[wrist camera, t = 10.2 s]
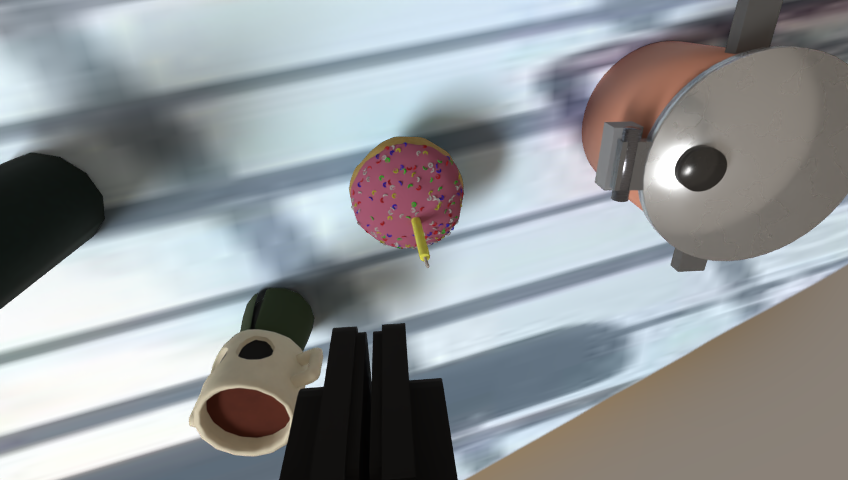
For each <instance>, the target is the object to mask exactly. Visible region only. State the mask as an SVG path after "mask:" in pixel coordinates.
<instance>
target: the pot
mask: <svg viewBox="0 0 848 480" xmlns="http://www.w3.org/2000/svg"><path fill="white" fill-rule="evenodd" d="M782 3H783V0H738V2H737V6H736V10H735V14H734V18H733V22H732V25H731V29H730V33H729V37H728V41H727V45H726V47H718V46H711V45H703V44H696V43H689V42H681V41H663V42H657V43H653V44H649V45H647V46H644V47H641V48H639V49H637V50H635V51H633V52H631V53H629V54H628V55H627V56H625V57H624V58H622V59H621V60H619V61H618V62H617V63H616V64H615V65H614V66H612V67H611V69H610V70H609V71H608V72H607V73H606V74H605V75H604V76H603V78H602V79H601V80H600V81H599V83H598V84H597V86H596V88H595V89H594V91H593V93H592V95H591V97H590V99H589V101H588V104H587V107H586V110H585V113H584V118H583V123H582V142H583V147H584V151H585V154H586V157H587V159H588V161H589V163H590V165H591V166H592V167H593V169H594V170H595V171H596V179H595V183H596V184H597V185H598V186H600V187H601V188H602V189H603V190H613V189H612V188H611V187H610V181H611V175H612V169H613V163H614V157H615V152H616V146H617V140H618V139H619V138H622V133H623V128H624V127H626V126H635V127H640V128H642V132H641V137H640V138H647V136H648V134H649V132H650V130H651V128H652V127H653V125H654V123H655V121H656V120H657V118H658V117H659V115H660V114H661V112H662V111H663V109H664V108H665V107H666V106H667V104H668V103H669V102H670V101H671V100H672V99H673V97H674V96H675V95H676V94H677V93H678V92H679V91H680V90H681V89H682V88H683V87H685V86H686V85H687V84H688V83H689V82H690V81H691V80H693V79H694V78H695V77H697V76H698V75H699V74H701V73H702V72H704V71H705V70H707V69H708V68H710V67H712V66H713V65H715V64H717V63H719V62H721V61H723V60H725V59H727V58H729V57H731V56H734V55H737V54H740V53H742V52H745V51H748V50H753V49H758V48H762V47H770V44H771V40H772V37H773V34H774V30H775V27H776V23H777V20H778V17H779V13H780V10H781V6H782ZM629 200H630V201H631V202H633V203H634V204H635V205H636V206H638V207H639V208H640V209H641V210H642V211H643V209H642V206H641V203H640V200H639V194H638V190H630V194H629ZM706 263H707V260H706V259H701V258H697V257H694V256H691V255H688V254H686V253H684V252H682V251H680V250H678V249H677V248H675V250H674V254H673V258H672V262H671V266H672V267H673V268H674V269H675V270H677V271H678V272H683V271H703V270H704V269H705V266H706Z"/></svg>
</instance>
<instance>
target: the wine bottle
mask: <svg viewBox="0 0 848 480" xmlns="http://www.w3.org/2000/svg"><path fill="white" fill-rule="evenodd" d="M104 219H105V216H104V206H103V197H102V195H101V193H100V192H99V190H98V189H97V188H96V186H95V185H94V183H93V182H92V181H91V179H90V178H89V176H88V175H87V174H86V173H85V172H83V171H82V170H80V169H79V168H77V167H75V166H74V165H72V164H70V163H69V162H67V161H66V160H64V159H62V158H61V157H56V156H50V155H43V154H37V153H28V154H26V155H23V156H21V157H18V158H15V159H13V160H10V161H7V162H5V163H3V164H1V165H0V309H1V308H3V307H4V306H5V305H6V304H8V303H9V302H10V301H11V300H13V299H14V298H15V297H17V296H18V295H19V294H20V293H22V292H23V291H24V290H25V289H27V288H28V287H29V286H31V285H32V284H33V283H34V282H36V281H37V280H38V279H39V278H41V277H42V276H43V275H45V274H46V273H47V272H48V271H50V270H51V269H52V268H53V267H55V266H56V265H57V264H59V263H60V262H61V261H62V260H64V259H65V258H66V257H67V256H69V255H70V254H71V253H73V252H74V251H75V250H76V249H78V248H79V247H80V246H81V245H83V244H84V243H85V242H87V241H88V240H89V239H90V238H92V237H93V236H94V235H95V233H96V231H97V230H98V228H99V227H100V225H101V224H102V222H103V221H104Z"/></svg>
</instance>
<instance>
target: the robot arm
mask: <svg viewBox="0 0 848 480" xmlns="http://www.w3.org/2000/svg"><path fill="white" fill-rule="evenodd" d="M279 480H458V479H457V472H456V466H455V459H454V453H453V446H452V440H451V433H450V427H449V420H448V414H447V407H446V401H445V395H444V388H443V382H442V378H436V379H423V380H409V374H408V359H407V344H406V329H405V323H401V324H386V325H382V331H375V332H373V357H372V381H371V371H370V361H369V351H368V342H367V333H366V332H361V333H358V329H357V327H342V328H333V330H332V336H331V343H330V349H329V356H328V363H327V369H326V376H325V382H324V387H316V388H303V389H300V390H299V392H298V396H297V400H296V404H295V409H294V414H293V418H292V423H291V428H290V432H289V437H288V442H287V446H286V451H285V456H284V460H283V465H282V469H281V474H280V479H279Z"/></svg>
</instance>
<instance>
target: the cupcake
mask: <svg viewBox="0 0 848 480" xmlns="http://www.w3.org/2000/svg"><path fill="white" fill-rule="evenodd" d="M349 192H350V197H351V202H352V207H351V208H352V209H353V210H354V213H355V216H356V219H357V221H358V222H357V224H358V225H360V226H361V227H362V228H363V229H364V230H365V231H366V232H367V233H369V234H370V235H372V236H373V237H374V238H376V239H377V240H379V241H380V242H381V243H383V244H384V245H389V246H393V247H397V248H401V249H402V248H413V249H416V248H418V252H419V256H420V259H421V260H422V261H425V265H426V267H427V268H429V264H428V260H429V258H430V255H429V251H428V247H427V245H432V244H433V243H437V242H438V241H440V240H441V239H443V238H444V237H445V235H446V234H447V236H449V235H450V230H453V229H454V226H455V225H456V224H457V223H458V220H459V216H460V210H461V207H462V200H463V195H464V193H463V180H462V176H461V174H460V172H459V170H458V168H457V166H456V165H455V163H454V162H453V160H452V158H451V156H450V155H449V153H448V152H446V151H445V150H443V149H442V148H440V147H438V146H437V145H435V144H433V143H432V142H430V141H429V140H427V139H424V138H421V137H393V138H390V139H388V140H386V141H384V142H382V143H380V144H379V145H378V146H376V147H375V148H374V149H373V150H372V151H371V152H370V153H369V154H368V155H367V156H366V157H365V158H364V160H363V161H362V162H361V163H360V164H359V165H358V166H357V167H356V168H355V170H354V172H353V175H352V178H351V181H350V187H349ZM452 228H453V229H452Z"/></svg>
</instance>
